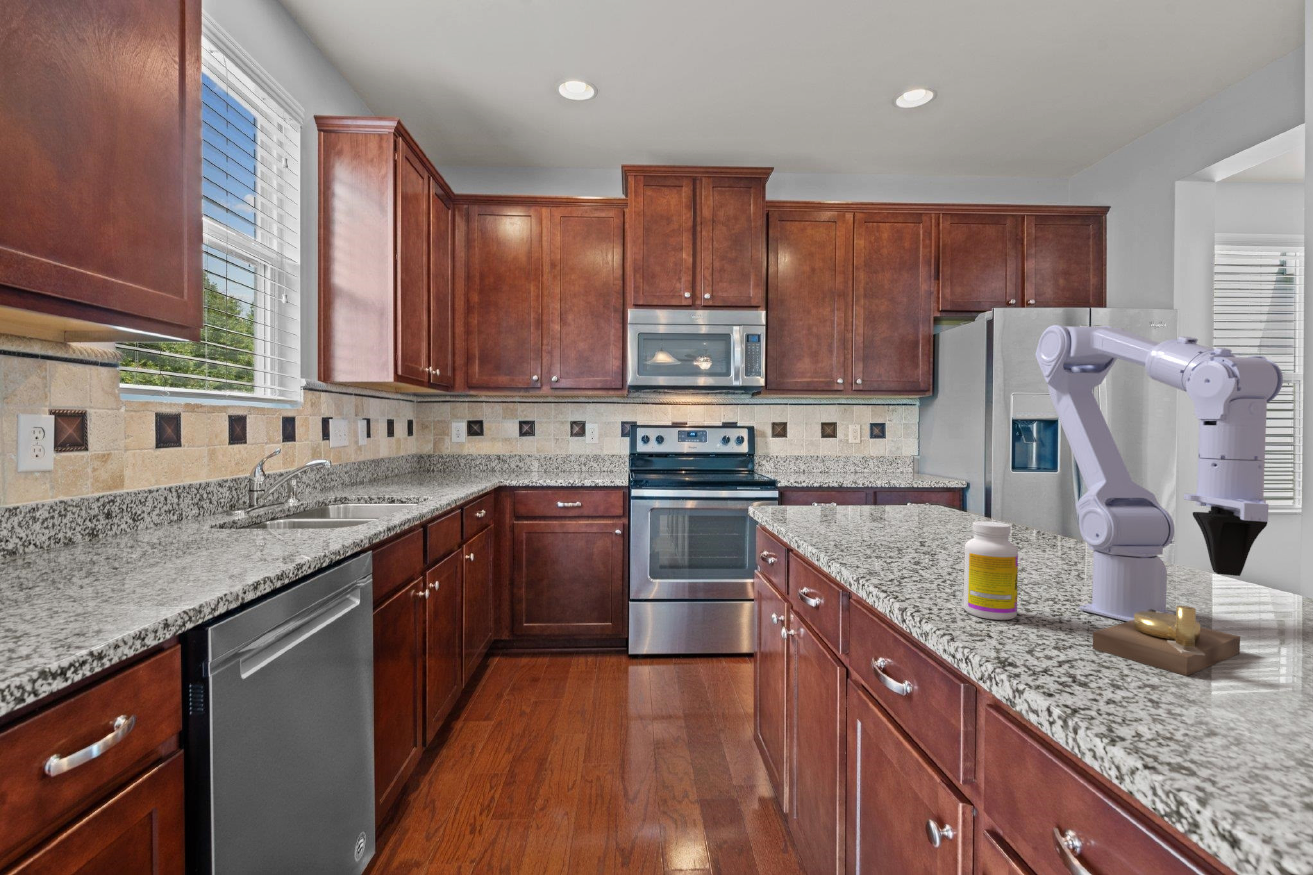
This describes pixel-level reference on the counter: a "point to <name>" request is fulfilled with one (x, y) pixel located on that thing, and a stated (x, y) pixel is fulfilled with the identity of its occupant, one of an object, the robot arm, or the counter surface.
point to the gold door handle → (1170, 625)
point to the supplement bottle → (991, 572)
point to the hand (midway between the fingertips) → (1226, 573)
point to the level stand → (1166, 648)
